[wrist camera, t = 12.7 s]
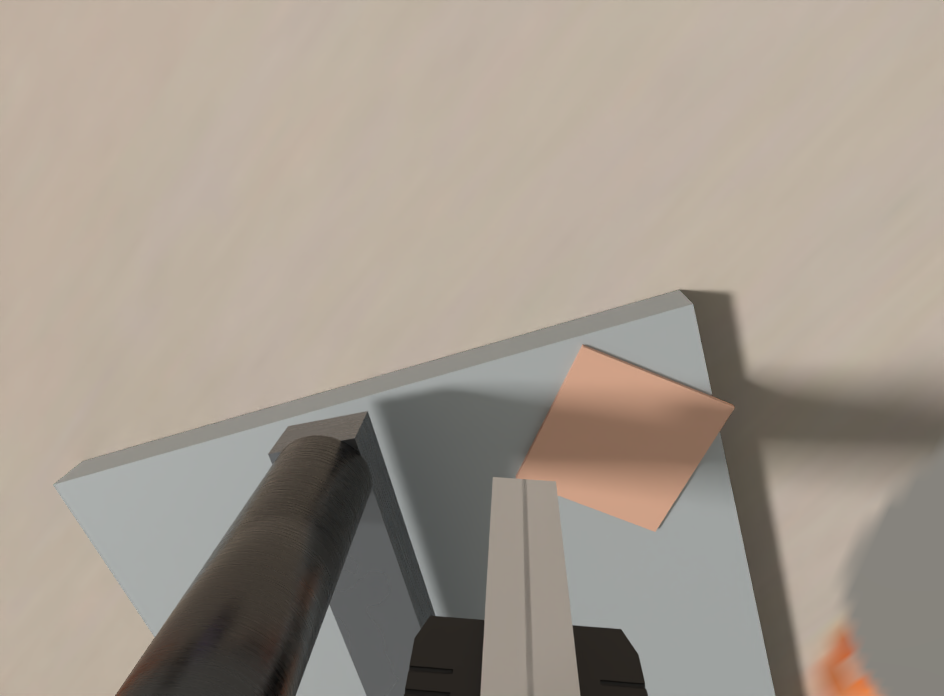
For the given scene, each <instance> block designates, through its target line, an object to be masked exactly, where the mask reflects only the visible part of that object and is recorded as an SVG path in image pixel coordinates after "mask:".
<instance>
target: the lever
mask: <svg viewBox="0 0 944 696" xmlns="http://www.w3.org/2000/svg"><path fill="white" fill-rule="evenodd" d="M268 455H269V458H270V460H271V463H272V466H271V467H270V469H269V470H268V472H267V473H266V475H265V476H264V478H263V479H262V481H261V482H260V484H259V485H258V486H257V488H256V489H255V491H254V492H253V494H252V495H251V497H250V498H249V500H248V501H247V503H246V504H245V506H244V507H243V509H242V510H241V511H240V513H239V514H238V516H237V517H236V519H235V520H234V522H233V523H232V525H231V526H230V528H229V529H228V531H227V532H226V534H225V535H224V536H223V538H222V539H221V541H220V542H219V544H218V545H217V547H216V548H215V550H214V551H213V553H212V554H211V556H210V557H209V558H208V560H207V561H206V563H205V564H204V566H203V567H202V569H201V570H200V572H199V573H198V575H197V576H196V578H195V579H194V581H193V582H192V583H191V585H190V586H189V588H188V589H187V591H186V592H185V594H184V595H183V597H182V598H181V600H180V601H179V603H178V604H177V606H176V607H175V608H174V610H173V611H172V613H171V614H170V616H169V617H168V619H167V620H166V622H165V623H164V625H163V626H162V628H161V629H160V631H159V632H158V633H157V635H156V636H155V638H154V639H153V641H152V642H151V644H150V645H149V647H148V648H147V650H146V651H145V653H144V654H143V656H142V657H141V658H140V660H139V661H138V663H137V664H136V666H135V667H134V669H133V670H132V672H131V673H130V675H129V676H128V678H127V679H126V681H125V682H124V683H123V685H122V686H121V688H120V689H119V691H118V692H117V694H116V695H115V696H296V694H297V691H298V688H299V685H300V683H301V680H302V677H303V675H304V672H305V669H306V666H307V664H308V661H309V658H310V656H311V653H312V650H313V647H314V645H315V642H316V639H317V637H318V634H319V631H320V628H321V626H322V623H323V620H324V618H325V615H326V612H327V609H328V607H329V605H330V607H331V610H332V612H333V615H334V617H335V620H336V622H337V625H338V627H339V630H340V632H341V634H342V637H343V639H344V642H345V644H346V647H347V649H348V652H349V654H350V656H351V659H352V661H353V664H354V666H355V669H356V671H357V674H358V676H359V679H360V681H361V683H362V686H363V688H364V691H365V693H366V696H404V694H405V686H406V681H407V675H408V671H409V665H410V659H411V654H412V649H413V643H414V638H415V637H416V635H417V634H418V632H419V631H420V629H421V628H422V627H423V625H424V624H425V622H426V621H427V619H428V618H429V617H430V616H436V615H435V612H434V609H433V606H432V603H431V600H430V597H429V594H428V591H427V588H426V585H425V582H424V579H423V576H422V573H421V570H420V567H419V564H418V561H417V558H416V555H415V552H414V549H413V546H412V543H411V540H410V537H409V534H408V531H407V528H406V525H405V522H404V519H403V516H402V513H401V510H400V507H399V504H398V501H397V498H396V495H395V492H394V489H393V486H392V482H391V479H390V476H389V473H388V470H387V467H386V464H385V461H384V458H383V455H382V452H381V449H380V446H379V443H378V440H377V437H376V434H375V431H374V428H373V425H372V422H371V419H370V416H369V413H368V411H365V412H360V413H355V414H350V415H344V416H339V417H334V418H328V419H323V420H318V421H313V422H307V423H302V424H297V425H291V426H288V427H287V428H286V430H285V431H284V432H283V434H282V435H281V437H280V438H279V439H278V441H277V442H276V444H275V445H274V446H273V448H272V449H271V451H270V452H269V453H268Z"/></svg>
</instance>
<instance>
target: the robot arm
mask: <svg viewBox="0 0 944 696" xmlns="http://www.w3.org/2000/svg"><path fill="white" fill-rule="evenodd" d="M404 696H648V694H647V689H645V680H644V676H643V672H642V667H641V663H640V659H639V655H638V653H637V652H636V650H635V649H634V647H633V646H632V644H631V643H630V641H629V640H628V638H627V637H626V635H625V634H624V632H623V631H622V629H614V628H602V627H589V626H577V625H572V618H571V609H570V600H569V591H568V583H567V574H566V565H565V556H564V548H563V539H562V530H561V521H560V513H559V504H558V495H557V486H556V481H543V480H529V479H514V478H500V477H493V483H492V500H491V516H490V533H489V550H488V567H487V584H486V602H485V619H484V620H480V619H467V618H455V617H442V616H430V617H429V618H428V619H427V621H426V622H425V624H424V625H423V627H422V628H421V629H420V631H419V632H418V634H417V635H416V637H415V638H414V643H413V649H412V654H411V659H410V665H409V671H408V675H407V681H406V686H405V694H404Z"/></svg>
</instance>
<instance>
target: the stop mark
mask: <svg viewBox="0 0 944 696" xmlns="http://www.w3.org/2000/svg"><path fill="white" fill-rule="evenodd" d="M734 408H735V407H734V406H733V404H730V403H728V402H725V401H723V400H720V399H718V398H715V397H713V396H710V395H708V394H705V393H703V392H700V391H698V390H695V389H693V388H690V387H688V386H685V385H683V384H680V383H678V382H675V381H673V380H670V379H668V378H665V377H663V376H660V375H658V374H655V373H653V372H650V371H648V370H645V369H643V368H640V367H638V366H635V365H633V364H630V363H628V362H625V361H623V360H620V359H618V358H615V357H613V356H610V355H608V354H605V353H603V352H600V351H598V350H595V349H593V348H590V347H588V346H585V345H583V344H582V346H581V348H580V350H579V352H578V354H577V356H576V358H575V360H574V362H573V364H572V366H571V368H570V370H569V372H568V374H567V376H566V378H565V380H564V382H563V384H562V386H561V388H560V390H559V391H558V393H557V395H556V397H555V399H554V401H553V403H552V405H551V407H550V409H549V411H548V413H547V415H546V417H545V419H544V421H543V423H542V425H541V427H540V429H539V431H538V433H537V435H536V437H535V439H534V441H533V443H532V445H531V447H530V449H529V451H528V453H527V455H526V457H525V459H524V461H523V463H522V465H521V467H520V469H519V471H518V473H517V475H516V479H529V480H543V481H556V486H557V495H558V496H561V497H563V498H566V499H569V500H571V501H574V502H577V503H579V504H582V505H585V506H587V507H590V508H593V509H595V510H598V511H601V512H603V513H606V514H609V515H611V516H614V517H617V518H619V519H622V520H625V521H627V522H630V523H633V524H635V525H638V526H641V527H643V528H646V529H649V530H651V531H654V532H656V530H657V528H658V527H659V525H660V524H661V522H662V521H663V519H664V517H665V516H666V514H667V513H668V511H669V510H670V508H671V507H672V505H673V503H674V502H675V500H676V499H677V497H678V496H679V494H680V492H681V491H682V489H683V488H684V486H685V485H686V483H687V482H688V480H689V478H690V477H691V475H692V474H693V472H694V471H695V469H696V468H697V466H698V464H699V463H700V461H701V460H702V458H703V457H704V455H705V453H706V452H707V450H708V449H709V447H710V446H711V444H712V443H713V441H714V439H715V438H716V436H717V435H718V433H719V432H720V430H721V428H722V427H723V425H724V424H725V422H726V421H727V419H728V418H729V416H730V414H731V413H732V411H733V410H734Z"/></svg>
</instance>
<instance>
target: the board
mask: <svg viewBox="0 0 944 696" xmlns="http://www.w3.org/2000/svg"><path fill="white" fill-rule="evenodd" d="M582 344H583V345H585V346H588V347H590V348H593V349H595V350H598V351H600V352H603V353H605V354H608V355H610V356H613V357H615V358H618V359H620V360H623V361H625V362H628V363H630V364H633V365H635V366H638V367H640V368H643V369H645V370H648V371H650V372H653V373H655V374H658V375H660V376H663V377H665V378H668V379H670V380H673V381H675V382H678V383H680V384H683V385H685V386H688V387H690V388H693V389H695V390H698V391H700V392H703V393H705V394H708V395H710V396H712V391H711V387H710V382H709V377H708V372H707V367H706V363H705V358H704V353H703V348H702V344H701V339H700V334H699V329H698V325H697V320H696V315H695V310H694V305H693V303H692V302H691V301H690V300H689V299H688V298H687V297H686V296H685V295H684V294H683V293H682V292H681V291H680V290H677V291H673V292H670V293H666V294H663V295H659V296H656V297H652V298H649V299H645V300H642V301H638V302H635V303H631V304H628V305H624V306H621V307H617V308H614V309H610V310H607V311H604V312H600V313H597V314H593V315H590V316H586V317H583V318H579V319H576V320H572V321H569V322H565V323H562V324H558V325H555V326H551V327H548V328H544V329H541V330H537V331H534V332H530V333H527V334H524V335H520V336H517V337H513V338H510V339H506V340H503V341H499V342H496V343H492V344H489V345H485V346H482V347H478V348H475V349H471V350H468V351H464V352H461V353H457V354H454V355H450V356H447V357H444V358H440V359H437V360H433V361H430V362H426V363H423V364H419V365H416V366H412V367H409V368H405V369H402V370H398V371H395V372H391V373H388V374H384V375H381V376H377V377H374V378H371V379H367V380H364V381H360V382H357V383H353V384H350V385H346V386H343V387H339V388H336V389H332V390H329V391H325V392H322V393H318V394H315V395H311V396H308V397H304V398H301V399H297V400H294V401H291V402H287V403H284V404H280V405H277V406H273V407H270V408H266V409H263V410H259V411H256V412H252V413H249V414H245V415H242V416H238V417H235V418H231V419H228V420H224V421H221V422H218V423H214V424H211V425H207V426H204V427H200V428H197V429H193V430H190V431H186V432H183V433H179V434H176V435H172V436H169V437H165V438H162V439H158V440H155V441H151V442H148V443H144V444H141V445H138V446H134V447H131V448H127V449H124V450H120V451H117V452H113V453H110V454H106V455H103V456H99V457H96V458H92V459H89V460H85V461H82V462H81V463H79V464H78V465H77V466H76V467H74V468H73V469H72V470H71V471H70V472H68V473H67V474H66V475H65V476H63V477H62V478H61V479H60V480H58V481H57V482H56V483H55V484H53V486H54V487H55V489H56V490H57V492H58V493H59V495H60V496H61V498H62V499H63V501H64V502H65V504H66V505H67V507H68V508H69V510H70V511H71V513H72V514H73V516H74V517H75V518H76V520H77V521H78V523H79V524H80V526H81V527H82V529H83V530H84V532H85V533H86V535H87V536H88V538H89V539H90V541H91V542H92V544H93V545H94V547H95V548H96V550H97V551H98V553H99V554H100V556H101V557H102V559H103V560H104V562H105V563H106V565H107V566H108V568H109V569H110V571H111V572H112V574H113V575H114V577H115V578H116V580H117V581H118V583H119V584H120V586H121V587H122V589H123V590H124V592H125V593H126V595H127V596H128V598H129V599H130V601H131V602H132V604H133V605H134V607H135V608H136V610H137V611H138V613H139V614H140V616H141V617H142V619H143V620H144V622H145V623H146V625H147V626H148V628H149V629H150V631H151V632H152V634H153V635H154V637H155V636H156V635H157V633H158V632H159V631H160V629H161V628H162V626H163V625H164V623H165V622H166V620H167V619H168V617H169V616H170V614H171V613H172V611H173V610H174V608H175V607H176V606H177V604H178V603H179V601H180V600H181V598H182V597H183V595H184V594H185V592H186V591H187V589H188V588H189V586H190V585H191V583H192V582H193V581H194V579H195V578H196V576H197V575H198V573H199V572H200V570H201V569H202V567H203V566H204V564H205V563H206V561H207V560H208V558H209V557H210V556H211V554H212V553H213V551H214V550H215V548H216V547H217V545H218V544H219V542H220V541H221V539H222V538H223V536H224V535H225V534H226V532H227V531H228V529H229V528H230V526H231V525H232V523H233V522H234V520H235V519H236V517H237V516H238V514H239V513H240V511H241V510H242V509H243V507H244V506H245V504H246V503H247V501H248V500H249V498H250V497H251V495H252V494H253V492H254V491H255V489H256V488H257V486H258V485H259V484H260V482H261V481H262V479H263V478H264V476H265V475H266V473H267V472H268V470H269V469H270V467H271V466H272V463H271V460H270V458H269V455H268V453H269V452H270V451H271V449H272V448H273V446H274V445H275V444H276V442H277V441H278V439H279V438H280V437H281V435H282V434H283V432H284V431H285V430H286V428H287V427H288V426H291V425H297V424H302V423H307V422H313V421H318V420H323V419H328V418H334V417H339V416H344V415H350V414H355V413H360V412H365V411H368V413H369V416H370V419H371V422H372V425H373V428H374V431H375V434H376V437H377V440H378V443H379V446H380V449H381V452H382V455H383V458H384V461H385V464H386V467H387V470H388V473H389V476H390V479H391V482H392V486H393V489H394V492H395V495H396V498H397V501H398V504H399V507H400V510H401V513H402V516H403V519H404V522H405V525H406V528H407V531H408V534H409V537H410V540H411V543H412V546H413V549H414V552H415V555H416V558H417V561H418V564H419V567H420V570H421V573H422V576H423V579H424V582H425V585H426V588H427V591H428V594H429V597H430V600H431V603H432V606H433V609H434V612H435V615H436V616H442V617H455V618H467V619H480V620H484V619H485V602H486V584H487V567H488V550H489V533H490V516H491V500H492V483H493V477H500V478H514V479H516V475H517V473H518V471H519V469H520V467H521V465H522V463H523V461H524V459H525V457H526V455H527V453H528V451H529V449H530V447H531V445H532V443H533V441H534V439H535V437H536V435H537V433H538V431H539V429H540V427H541V425H542V423H543V421H544V419H545V417H546V415H547V413H548V411H549V409H550V407H551V405H552V403H553V401H554V399H555V397H556V395H557V393H558V391H559V390H560V388H561V386H562V384H563V382H564V380H565V378H566V376H567V374H568V372H569V370H570V368H571V366H572V364H573V362H574V360H575V358H576V356H577V354H578V352H579V350H580V348H581V346H582ZM558 504H559V513H560V521H561V530H562V539H563V548H564V556H565V565H566V574H567V583H568V591H569V600H570V609H571V618H572V625H577V626H589V627H602V628H614V629H622V631H623V632H624V634H625V635H626V637H627V638H628V640H629V641H630V643H631V644H632V646H633V647H634V649H635V650H636V652H637V653H638V655H639V659H640V663H641V667H642V672H643V676H644V680H645V689H647V694H648V696H775V692H774V687H773V682H772V677H771V673H770V668H769V663H768V658H767V654H766V649H765V644H764V639H763V635H762V630H761V625H760V620H759V615H758V611H757V606H756V601H755V596H754V592H753V587H752V582H751V577H750V573H749V568H748V563H747V558H746V553H745V549H744V544H743V539H742V534H741V530H740V525H739V520H738V515H737V511H736V506H735V501H734V496H733V491H732V487H731V482H730V477H729V472H728V468H727V463H726V458H725V453H724V449H723V444H722V439H721V434H720V432H719V433H718V435H717V436H716V438H715V439H714V441H713V443H712V444H711V446H710V447H709V449H708V450H707V452H706V453H705V455H704V457H703V458H702V460H701V461H700V463H699V464H698V466H697V468H696V469H695V471H694V472H693V474H692V475H691V477H690V478H689V480H688V482H687V483H686V485H685V486H684V488H683V489H682V491H681V492H680V494H679V496H678V497H677V499H676V500H675V502H674V503H673V505H672V507H671V508H670V510H669V511H668V513H667V514H666V516H665V517H664V519H663V521H662V522H661V524H660V525H659V527H658V528H657V530H656V532H654V531H651V530H649V529H646V528H643V527H641V526H638V525H635V524H633V523H630V522H627V521H625V520H622V519H619V518H617V517H614V516H611V515H609V514H606V513H603V512H601V511H598V510H595V509H593V508H590V507H587V506H585V505H582V504H579V503H577V502H574V501H571V500H569V499H566V498H563V497H561V496H558ZM296 696H366V693H365V691H364V688H363V686H362V683H361V681H360V679H359V676H358V674H357V671H356V669H355V666H354V664H353V661H352V659H351V656H350V654H349V652H348V649H347V647H346V644H345V642H344V639H343V637H342V634H341V632H340V630H339V627H338V625H337V622H336V620H335V617H334V615H333V612H332V610H331V607H330V605H329V607H328V609H327V612H326V615H325V618H324V620H323V623H322V626H321V628H320V631H319V634H318V637H317V639H316V642H315V645H314V647H313V650H312V653H311V656H310V658H309V661H308V664H307V666H306V669H305V672H304V675H303V677H302V680H301V683H300V685H299V688H298V691H297V694H296Z"/></svg>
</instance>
